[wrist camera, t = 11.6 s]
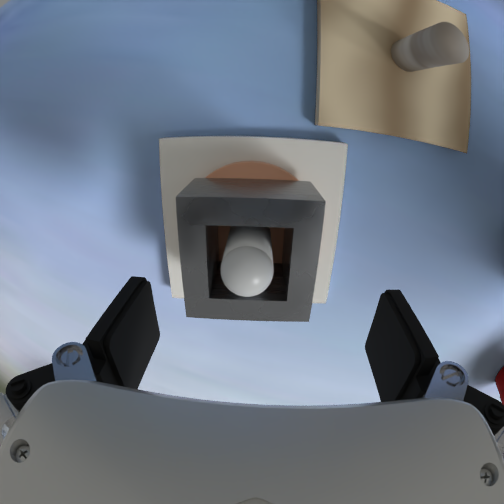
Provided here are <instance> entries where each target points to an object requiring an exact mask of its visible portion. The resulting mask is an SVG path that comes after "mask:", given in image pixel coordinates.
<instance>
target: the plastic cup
mask: <svg viewBox="0 0 504 504" xmlns="http://www.w3.org/2000/svg"><path fill="white" fill-rule="evenodd" d="M495 381H496V385H497V388H498V391H499V394H500V398H501V401H502V404H503V405H504V366H503V367H502V369H501V370H500V371H499V372H498V374H497V376H496V379H495Z"/></svg>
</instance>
